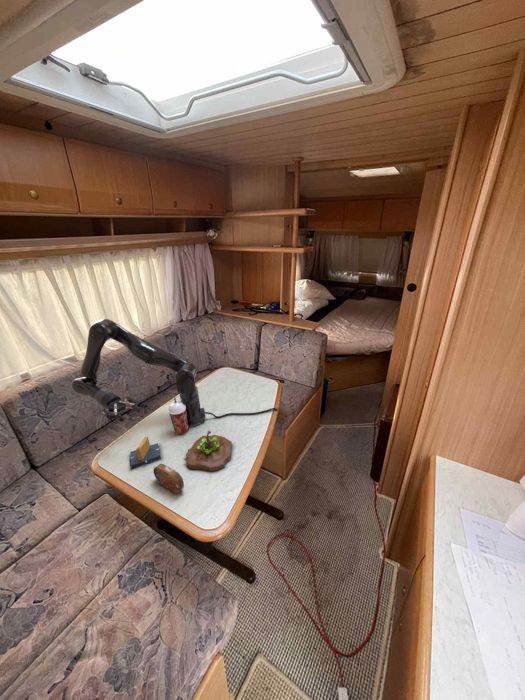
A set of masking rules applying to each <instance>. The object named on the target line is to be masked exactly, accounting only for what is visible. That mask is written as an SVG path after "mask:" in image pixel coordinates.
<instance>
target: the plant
mask: <svg viewBox="0 0 525 700" xmlns="http://www.w3.org/2000/svg"><path fill="white" fill-rule="evenodd" d="M210 434H212V431H211V430H208V431H207V434H206V435H201V436H200V437H198V439H197V440H195V441H194V442H193V444H192V446H191V447H190V448H189V449H187V453H186V454H185V457H186V460H185V463H186V465H187V467H188V468H190V469H191V470H205V471H208V472H215V471H219V470H222V469H224V468H225V466H226V463H228V462H229V461H231V456H232V450H233V442H232V441H231V440H229V439H228V438H226V437H225V436H222V435H218V434H212V435H210Z"/></svg>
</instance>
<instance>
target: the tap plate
mask: <svg viewBox="0 0 525 700" xmlns="http://www.w3.org/2000/svg"><path fill="white" fill-rule="evenodd" d="M129 456H130V458H129V459H130V467H131V469H132V470H133V469H136V468H139V467H142V466H145V465H148V464H151V463H153V462H156V461H159V460H162V457H161V451H160V446H159V442H157V443H154V444H150V449H149V451H148V452H147V454H146V456H145V457H144V459H143V460H139V458H138V454H137V451H136V449H134V450H131V451H129Z"/></svg>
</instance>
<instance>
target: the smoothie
mask: <svg viewBox="0 0 525 700" xmlns="http://www.w3.org/2000/svg"><path fill="white" fill-rule="evenodd" d="M173 400H174V401H173V402H171V404H170V405H169V406H168V410H167V411H168V415H169V418H170V422H171V424H172V427H173V430H174V432H175V433H176V434H177V435H183V434H185V433H186V432H187V431H188V429H189V427H188V422H187V414H186V406H185V405H184V404H183V403H182V402H181V400H180V401H179V400H177V399H176V397H174V398H173Z"/></svg>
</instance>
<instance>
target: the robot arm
mask: <svg viewBox="0 0 525 700" xmlns="http://www.w3.org/2000/svg"><path fill="white" fill-rule="evenodd" d="M87 333H88V334H87V342H86V344H87V345H86V350H85V355H84V357H83V360H82V364H81V366H80V370H79V373H80V375H81V376H82V377H78V378H75V379H73V380H72V381H71V383H70V387H71V390H72V391H73V392H74V393H75V394H77V395H80V396H83V397H87V398H89V399H91V400H93V402H95V403H96V404H98V405H99V406H101V407H102V415H103V417H105V418H106V419H108V420H109V421H112V420H114V419H115V420H117V421H118V422H121V423H123V422H124V421H125V417H124V416H122V415H121V414H119V413H120V412H122V411H124V410H130V409H131V410H133V411H135V412H136V413H140V412H141V408H140V406H138V401H137V400H135V399H134V398H132V397H131V396H127V397H126V398H125V399H123V398H121V397H120V396H119V395H117V394H116V393H114V392H113V391H111V390H109V389H107V388H105V387H104V386H103V385H100V384H98V371H99V368H100V365H101V361H102V356H101V354H102V350H103V348H104V346H105V344H106V343H107V341H109V340H113V341H116V342H118V343H119V344H121V345H123V346H124V347H125V348H126V350H128V351H129V353H130V354H131V355H132V356H133V357H134V358H136V359H138V360H139V361H141V362H143V363H145V364H148V365H152V366H157V367H165V368H167V369H170V370H172V371H174V372H175V374H174V381H175V382H174V383H175V386H176V390H177V393H178V394H179V398H180V402H182V403H183V404H184V405H185V406H186V414H187V422H188V428H189V427H190V428H193V427H194V428H195V427H197V426H199V425H200V424H203V419H206V415H211V416H213V417H214V418H216V419H221V418H224V417H227V416H232V415H234V416H235V415H237V416H244V415H245V416H250V415H251V416H252V415H259V414H262V413H268V412H270V411H272V410H275V411H278V409H277V408H276V407H271V408H269V409H266V410H261V411H256V412H230V413H225V414H223V415H220V416H219V415H216V414H214V413H213V412H209V411H206V410H205V407H202V406H201V402H200V401H201V400H200V395H199V394H200V393H199V388H198V386H196V381H195V378H196V376H197V373H198V369H197V367H196V365H195V364H193V363H192V362H189V361H188V360H184V359H183V358H180V357H177V356H176V355H173V354H171V353H170V352H168V351H166V350H165V349H164V350H163V349H162V348H160V347H158V346H157V345H155V344H153V343H151V342H149V341H148V340H146V339H144V338H141V337H140V336H138V335H136V334H134V333H132V332H130V331H128V330H127V329H126V328H124V327H122V326H121V325H119V324H118V323H117V322H115V321H113V320H111V319H109V318H102V319H99V320H97V321H96V322H93V323H92V324H91V325H90V327H89V328H88V332H87Z"/></svg>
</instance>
